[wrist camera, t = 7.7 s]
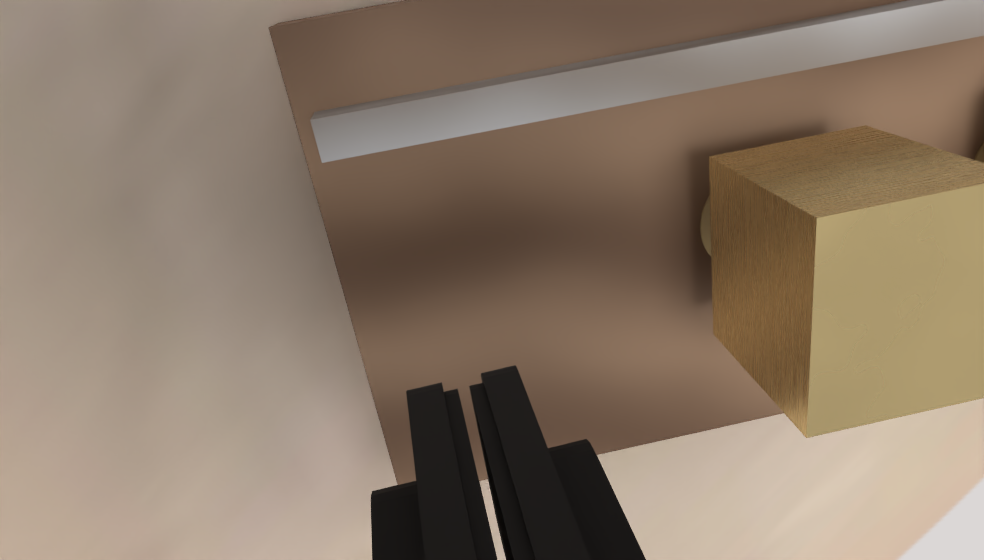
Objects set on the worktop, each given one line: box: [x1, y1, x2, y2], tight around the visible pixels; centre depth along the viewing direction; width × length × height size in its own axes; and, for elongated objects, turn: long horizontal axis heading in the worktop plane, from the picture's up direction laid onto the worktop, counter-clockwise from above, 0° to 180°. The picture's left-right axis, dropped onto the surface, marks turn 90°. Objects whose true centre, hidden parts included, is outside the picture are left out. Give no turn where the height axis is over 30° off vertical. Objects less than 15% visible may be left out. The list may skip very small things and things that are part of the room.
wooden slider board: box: [269, 0, 984, 485], centre depth 17 cm, size 14×23×8 cm, turn 99°
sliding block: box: [709, 125, 984, 438], centre depth 16 cm, size 5×4×6 cm
